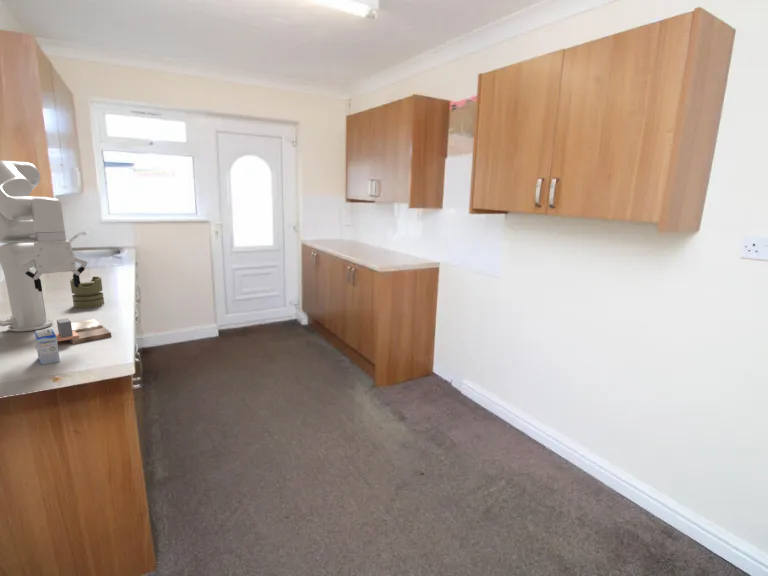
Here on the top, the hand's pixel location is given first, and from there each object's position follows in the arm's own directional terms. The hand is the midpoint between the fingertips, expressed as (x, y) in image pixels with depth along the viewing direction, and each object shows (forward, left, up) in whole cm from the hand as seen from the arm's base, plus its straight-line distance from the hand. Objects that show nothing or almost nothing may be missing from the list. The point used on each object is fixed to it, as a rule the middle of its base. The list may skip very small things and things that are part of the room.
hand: (58, 288), depth 137 cm
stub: (-2, 0, -17) cm, 17 cm away
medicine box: (-7, -16, -19) cm, 25 cm away
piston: (+17, +50, -19) cm, 56 cm away
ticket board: (+7, +5, -18) cm, 20 cm away
